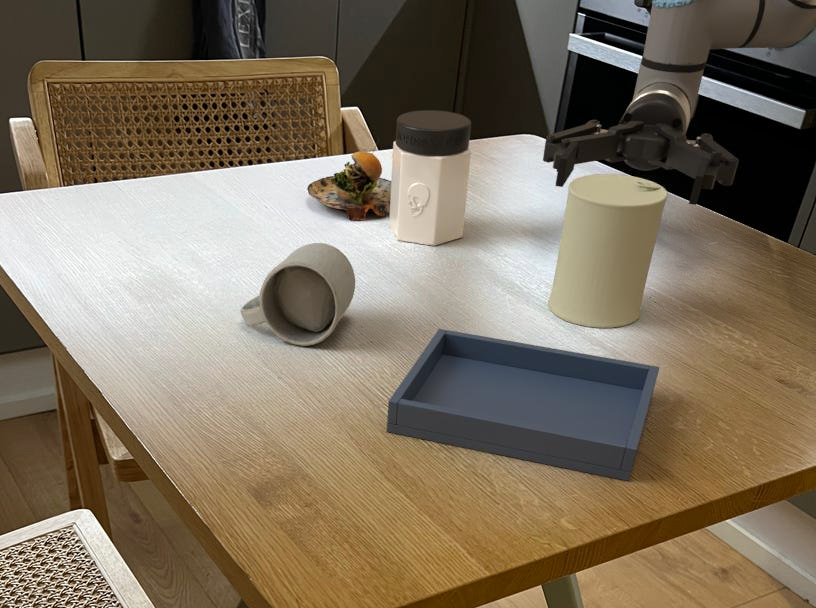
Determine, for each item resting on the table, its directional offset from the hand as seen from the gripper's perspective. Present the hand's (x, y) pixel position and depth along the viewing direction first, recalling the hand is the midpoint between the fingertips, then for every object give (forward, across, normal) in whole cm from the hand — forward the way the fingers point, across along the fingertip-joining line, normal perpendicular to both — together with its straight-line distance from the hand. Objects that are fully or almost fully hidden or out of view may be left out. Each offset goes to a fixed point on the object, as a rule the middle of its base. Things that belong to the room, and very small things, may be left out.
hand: (627, 181), depth 98 cm
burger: (-10, +33, -10) cm, 36 cm away
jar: (-4, +22, -10) cm, 24 cm away
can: (+10, 0, -10) cm, 14 cm away
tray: (+34, +2, -9) cm, 35 cm away
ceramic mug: (+26, +26, -10) cm, 38 cm away
